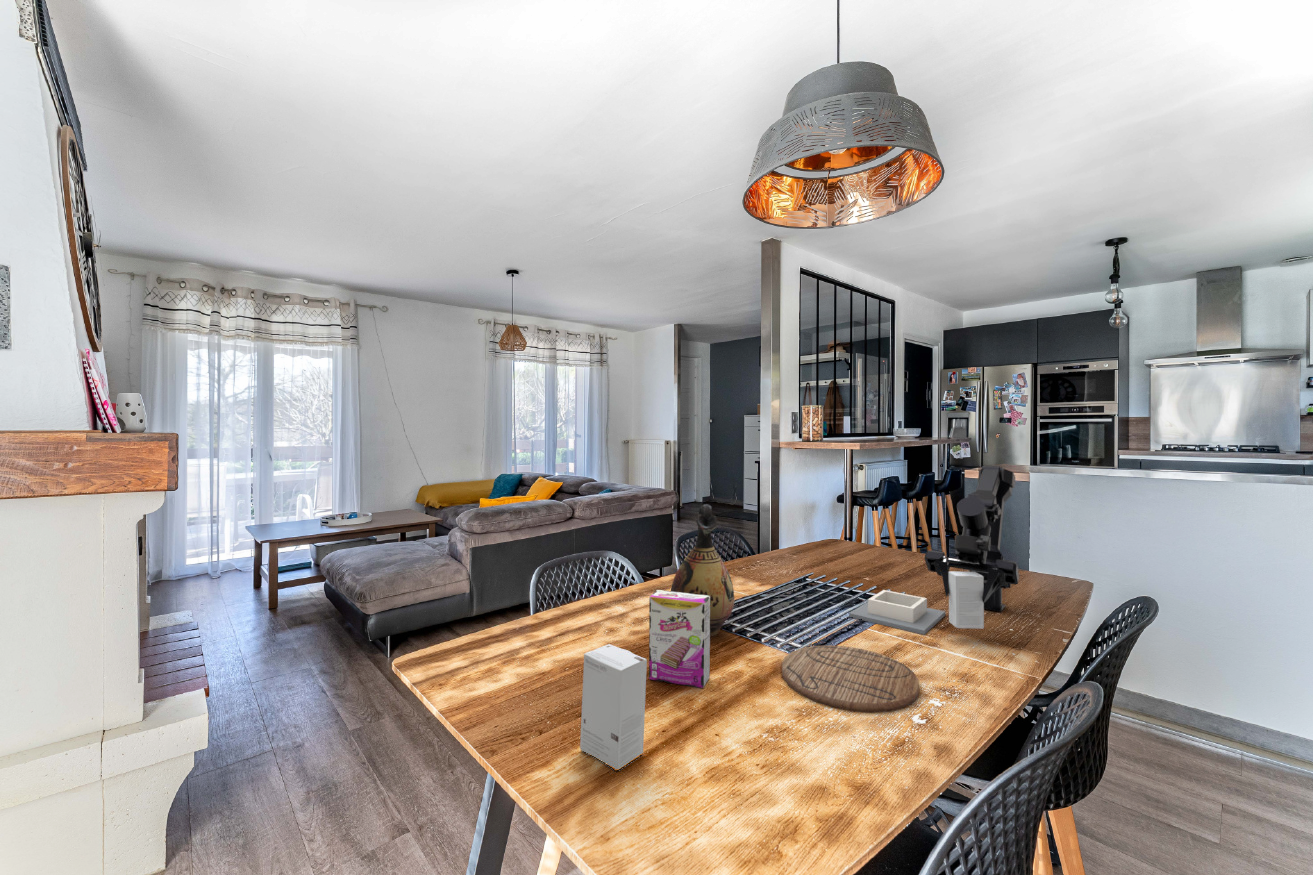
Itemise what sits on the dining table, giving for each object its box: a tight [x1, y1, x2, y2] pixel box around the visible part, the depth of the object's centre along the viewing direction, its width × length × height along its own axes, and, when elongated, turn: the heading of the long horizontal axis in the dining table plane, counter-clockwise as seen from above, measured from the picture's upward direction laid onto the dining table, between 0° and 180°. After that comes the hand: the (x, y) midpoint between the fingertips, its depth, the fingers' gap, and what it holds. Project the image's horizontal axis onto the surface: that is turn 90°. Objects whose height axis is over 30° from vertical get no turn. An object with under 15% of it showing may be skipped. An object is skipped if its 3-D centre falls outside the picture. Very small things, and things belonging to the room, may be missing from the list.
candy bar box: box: [648, 589, 711, 689], centre depth 105 cm, size 11×5×16 cm, turn 71°
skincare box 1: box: [579, 643, 648, 769], centre depth 81 cm, size 8×6×15 cm
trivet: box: [781, 644, 920, 714], centre depth 105 cm, size 25×25×2 cm
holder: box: [867, 589, 928, 623], centre depth 140 cm, size 11×11×4 cm
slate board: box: [848, 601, 946, 636], centre depth 140 cm, size 18×18×1 cm
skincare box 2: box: [948, 570, 985, 630], centre depth 125 cm, size 6×4×12 cm
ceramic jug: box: [670, 503, 735, 637], centre depth 131 cm, size 17×15×30 cm
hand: (964, 598), depth 123 cm, fingers closed on skincare box 2, 7 cm apart
